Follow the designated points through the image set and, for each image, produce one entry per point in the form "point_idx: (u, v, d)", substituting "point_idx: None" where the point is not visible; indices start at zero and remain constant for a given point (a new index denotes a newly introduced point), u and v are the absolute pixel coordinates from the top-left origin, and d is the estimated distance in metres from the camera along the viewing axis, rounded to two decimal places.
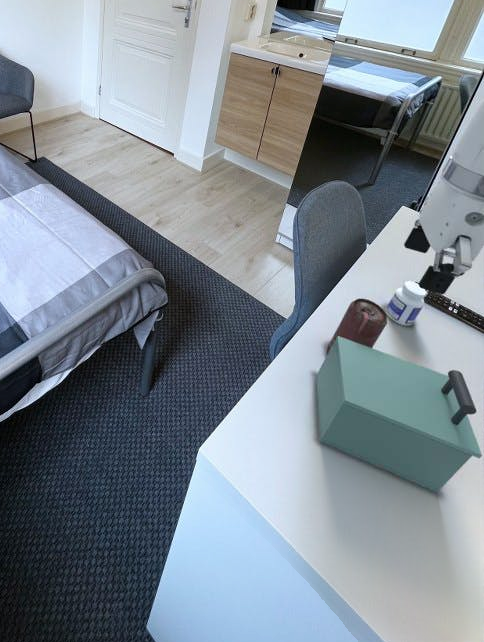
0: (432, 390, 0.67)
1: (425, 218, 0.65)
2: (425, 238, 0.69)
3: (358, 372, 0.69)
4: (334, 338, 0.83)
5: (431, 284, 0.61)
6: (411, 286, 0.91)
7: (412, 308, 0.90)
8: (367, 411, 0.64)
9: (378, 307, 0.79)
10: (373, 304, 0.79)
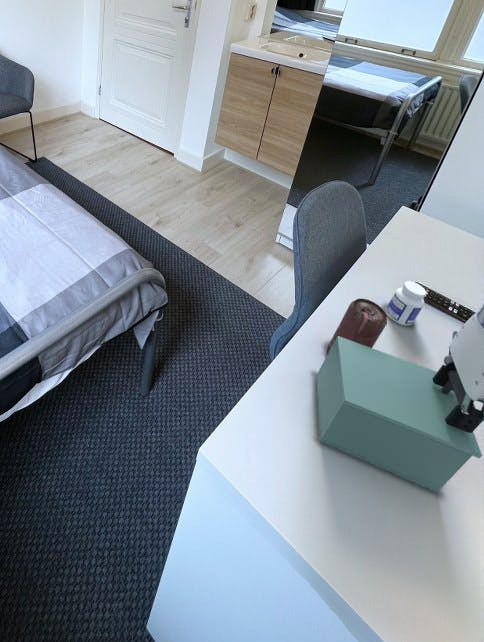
0: (432, 390, 0.67)
1: (457, 353, 0.63)
2: None
3: (358, 372, 0.69)
4: (334, 338, 0.83)
5: (459, 424, 0.60)
6: (411, 286, 0.91)
7: (412, 308, 0.90)
8: (367, 411, 0.64)
9: (378, 307, 0.79)
10: (373, 304, 0.79)
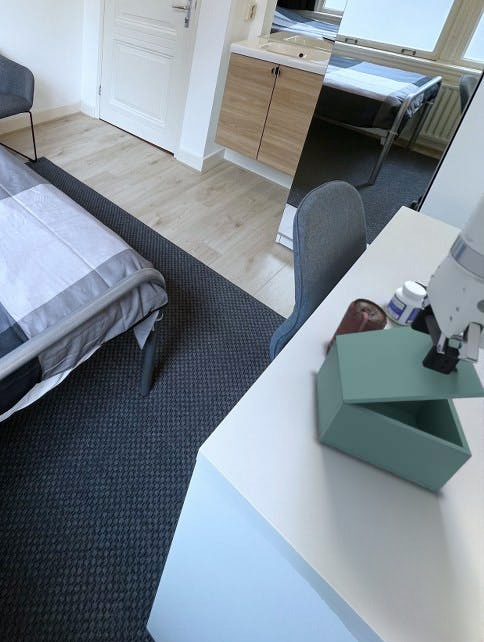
0: (431, 345, 0.64)
1: (433, 293, 0.60)
2: None
3: (356, 364, 0.68)
4: (334, 338, 0.83)
5: (435, 365, 0.58)
6: (411, 286, 0.91)
7: (412, 308, 0.90)
8: (367, 400, 0.63)
9: (378, 307, 0.79)
10: (373, 304, 0.79)
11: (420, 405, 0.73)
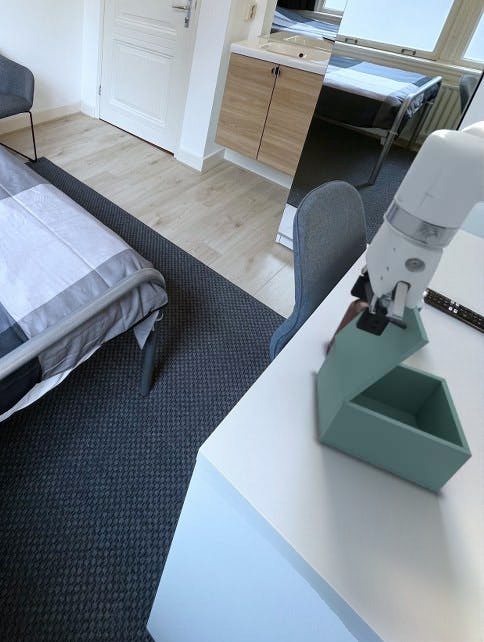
0: None
1: (370, 258, 0.62)
2: None
3: (347, 357, 0.68)
4: (334, 338, 0.83)
5: (367, 326, 0.60)
6: None
7: None
8: (357, 391, 0.63)
9: None
10: None
11: (420, 405, 0.73)
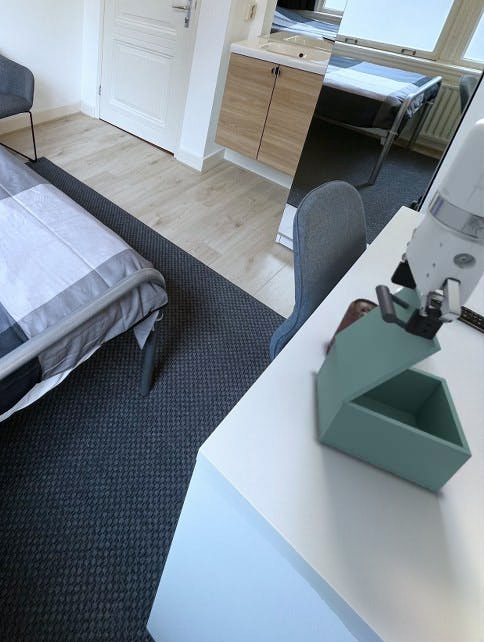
0: (398, 314, 0.64)
1: (412, 254, 0.59)
2: (413, 273, 0.63)
3: (349, 358, 0.68)
4: (334, 338, 0.83)
5: (418, 329, 0.56)
6: None
7: None
8: (359, 393, 0.63)
9: None
10: (373, 304, 0.79)
11: (420, 405, 0.73)
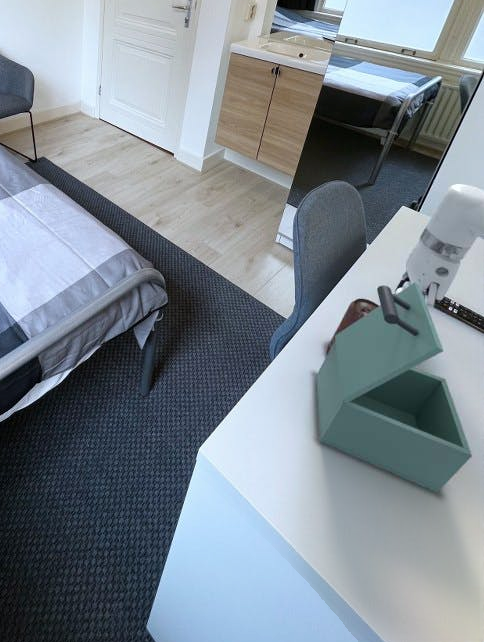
0: (399, 315, 0.64)
1: (409, 266, 0.91)
2: None
3: (349, 358, 0.68)
4: (334, 338, 0.83)
5: None
6: None
7: None
8: (360, 393, 0.63)
9: None
10: (373, 304, 0.79)
11: (420, 405, 0.73)
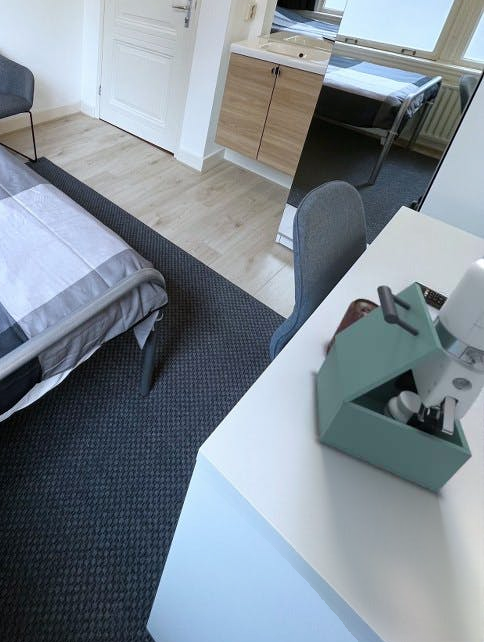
0: (399, 315, 0.64)
1: None
2: (415, 383, 0.69)
3: (349, 358, 0.68)
4: (334, 338, 0.83)
5: None
6: (410, 400, 0.67)
7: None
8: (360, 393, 0.63)
9: None
10: (373, 304, 0.79)
11: None
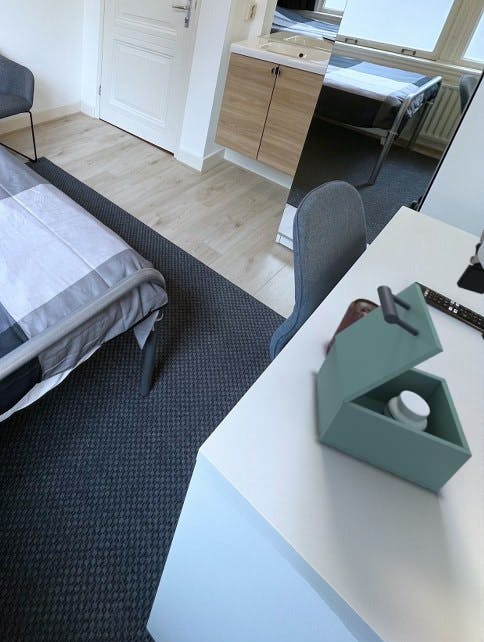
0: (399, 315, 0.64)
1: None
2: (483, 277, 0.59)
3: (349, 358, 0.68)
4: (334, 338, 0.83)
5: None
6: (410, 400, 0.67)
7: None
8: (360, 393, 0.63)
9: None
10: (373, 304, 0.79)
11: None
